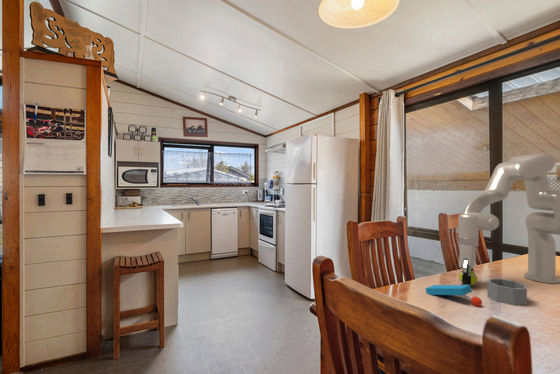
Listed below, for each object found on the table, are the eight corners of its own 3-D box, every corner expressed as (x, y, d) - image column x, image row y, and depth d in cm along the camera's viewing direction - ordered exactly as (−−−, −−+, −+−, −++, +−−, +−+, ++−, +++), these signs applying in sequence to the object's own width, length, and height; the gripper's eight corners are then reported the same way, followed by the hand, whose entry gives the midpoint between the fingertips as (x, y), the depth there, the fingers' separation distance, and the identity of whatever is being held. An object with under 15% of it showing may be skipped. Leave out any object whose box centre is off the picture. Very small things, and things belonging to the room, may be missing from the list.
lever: (429, 306, 115) (479, 309, 101) (425, 288, 117) (472, 288, 103) (438, 302, 119) (486, 304, 105) (433, 285, 121) (480, 284, 106)
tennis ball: (471, 288, 122) (471, 273, 121) (455, 284, 127) (455, 269, 127) (480, 286, 125) (480, 271, 125) (464, 281, 131) (464, 267, 131)
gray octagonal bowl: (490, 291, 119) (490, 276, 119) (527, 298, 111) (527, 283, 111) (486, 299, 110) (486, 283, 110) (526, 307, 102) (526, 291, 102)
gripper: (462, 238, 135) (462, 275, 135) (454, 243, 122) (453, 284, 122) (481, 240, 130) (481, 279, 130) (475, 245, 117) (474, 289, 117)
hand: (468, 281), depth 126 cm, fingers closed on tennis ball, 6 cm apart
